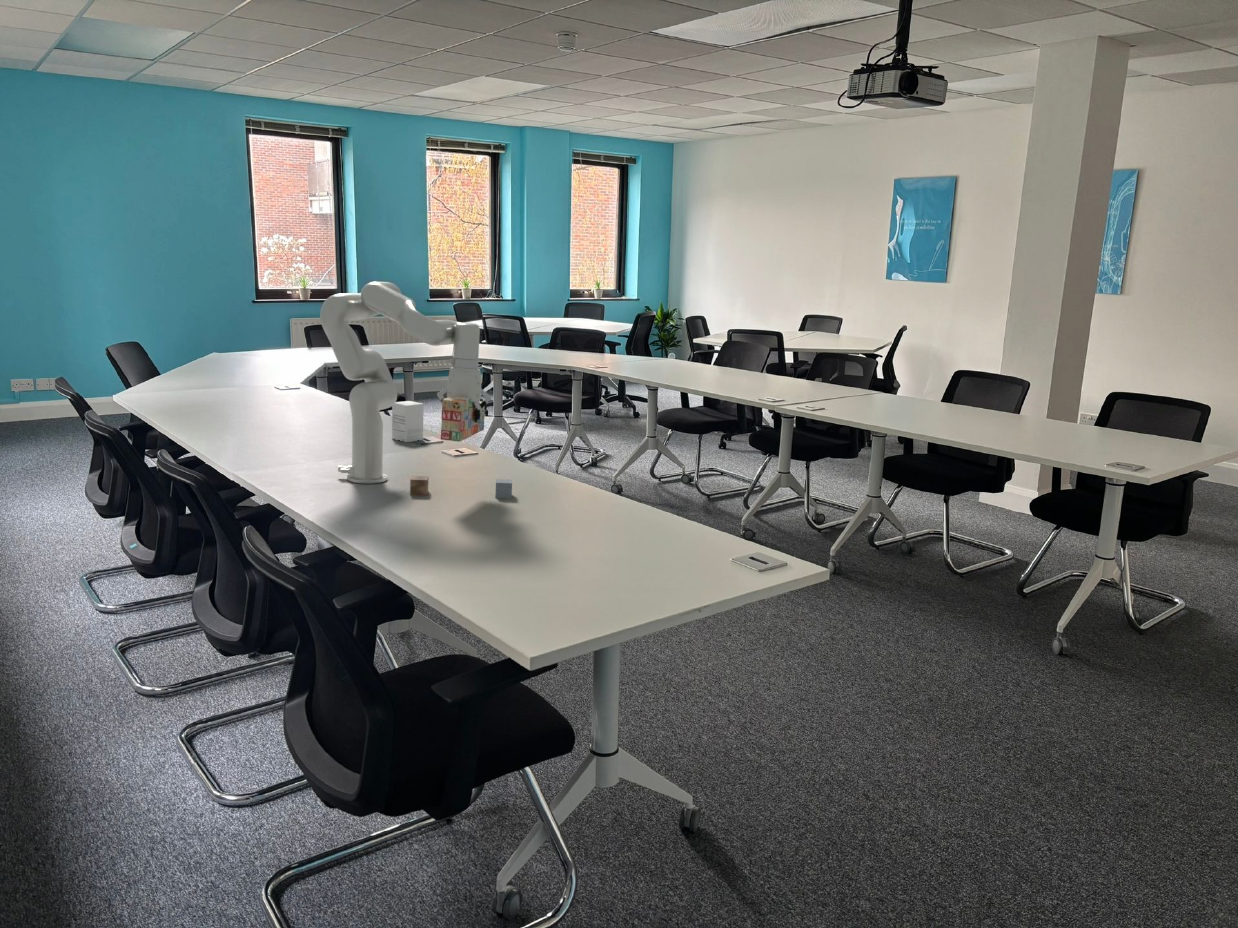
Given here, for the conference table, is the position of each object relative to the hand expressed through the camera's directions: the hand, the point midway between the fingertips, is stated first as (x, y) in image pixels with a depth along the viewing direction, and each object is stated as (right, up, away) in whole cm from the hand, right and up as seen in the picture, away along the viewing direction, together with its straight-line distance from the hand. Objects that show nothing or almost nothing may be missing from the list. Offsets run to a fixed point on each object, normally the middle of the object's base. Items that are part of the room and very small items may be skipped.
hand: (463, 420), depth 272 cm
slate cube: (+12, -24, +6) cm, 27 cm away
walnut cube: (-14, -23, +2) cm, 27 cm away
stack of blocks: (0, -5, +2) cm, 5 cm away
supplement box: (-37, -4, +82) cm, 90 cm away
